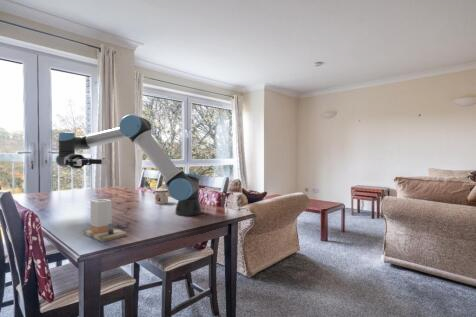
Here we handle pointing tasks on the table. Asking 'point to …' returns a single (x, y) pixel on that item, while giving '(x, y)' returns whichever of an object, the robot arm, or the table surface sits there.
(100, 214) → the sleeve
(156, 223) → the table surface
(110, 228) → the steel pin
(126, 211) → the table surface
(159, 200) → the wooden birdhouse
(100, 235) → the pin board
